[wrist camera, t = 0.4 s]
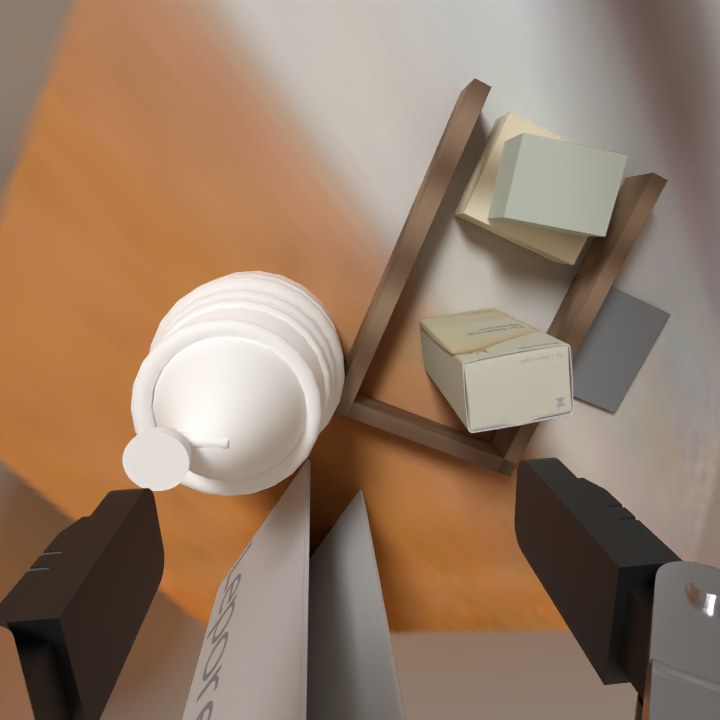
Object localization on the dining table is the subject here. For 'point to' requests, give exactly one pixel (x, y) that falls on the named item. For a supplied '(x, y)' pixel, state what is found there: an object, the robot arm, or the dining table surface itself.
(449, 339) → the skincare box
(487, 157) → the offcut lower
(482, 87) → the rack
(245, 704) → the tall grey box
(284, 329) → the honey pot
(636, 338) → the felt mat
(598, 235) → the offcut upper
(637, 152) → the dining table surface
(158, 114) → the dining table surface
